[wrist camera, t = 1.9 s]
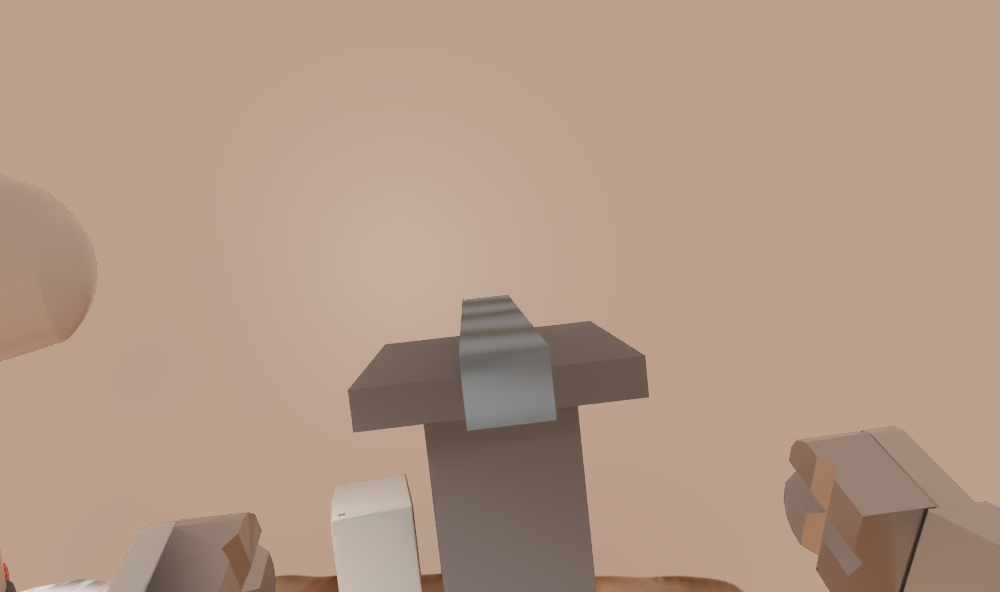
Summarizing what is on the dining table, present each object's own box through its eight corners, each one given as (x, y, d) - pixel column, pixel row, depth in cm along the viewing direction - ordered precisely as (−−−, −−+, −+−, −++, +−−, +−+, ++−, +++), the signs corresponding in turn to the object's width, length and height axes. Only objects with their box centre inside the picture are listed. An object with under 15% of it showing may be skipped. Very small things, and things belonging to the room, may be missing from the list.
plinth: (690, 861, 33) (645, 355, 31) (414, 902, 33) (347, 390, 31) (624, 679, 47) (590, 321, 45) (430, 706, 47) (385, 344, 45)
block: (556, 419, 22) (549, 346, 22) (467, 430, 22) (458, 356, 22) (511, 332, 44) (507, 294, 44) (466, 337, 44) (462, 299, 44)
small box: (433, 668, 51) (413, 505, 50) (349, 688, 50) (327, 521, 49) (423, 612, 59) (405, 471, 58) (350, 628, 58) (331, 484, 57)
